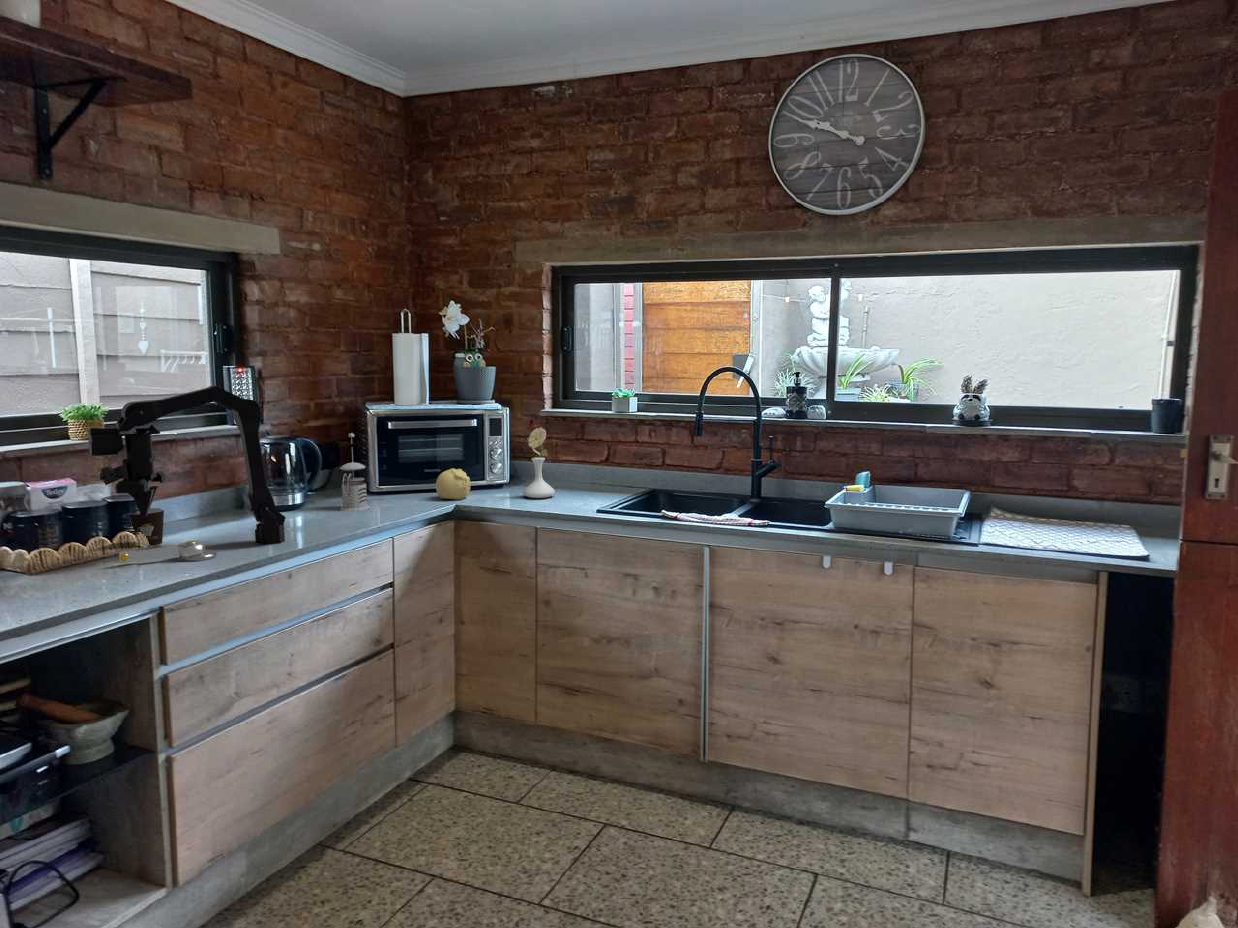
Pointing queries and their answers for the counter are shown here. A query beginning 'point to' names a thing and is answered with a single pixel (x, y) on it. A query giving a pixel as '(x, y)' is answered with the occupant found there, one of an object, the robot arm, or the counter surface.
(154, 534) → the coffee mug
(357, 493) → the french press
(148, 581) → the counter surface
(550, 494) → the flower in vase
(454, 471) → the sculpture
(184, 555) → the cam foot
